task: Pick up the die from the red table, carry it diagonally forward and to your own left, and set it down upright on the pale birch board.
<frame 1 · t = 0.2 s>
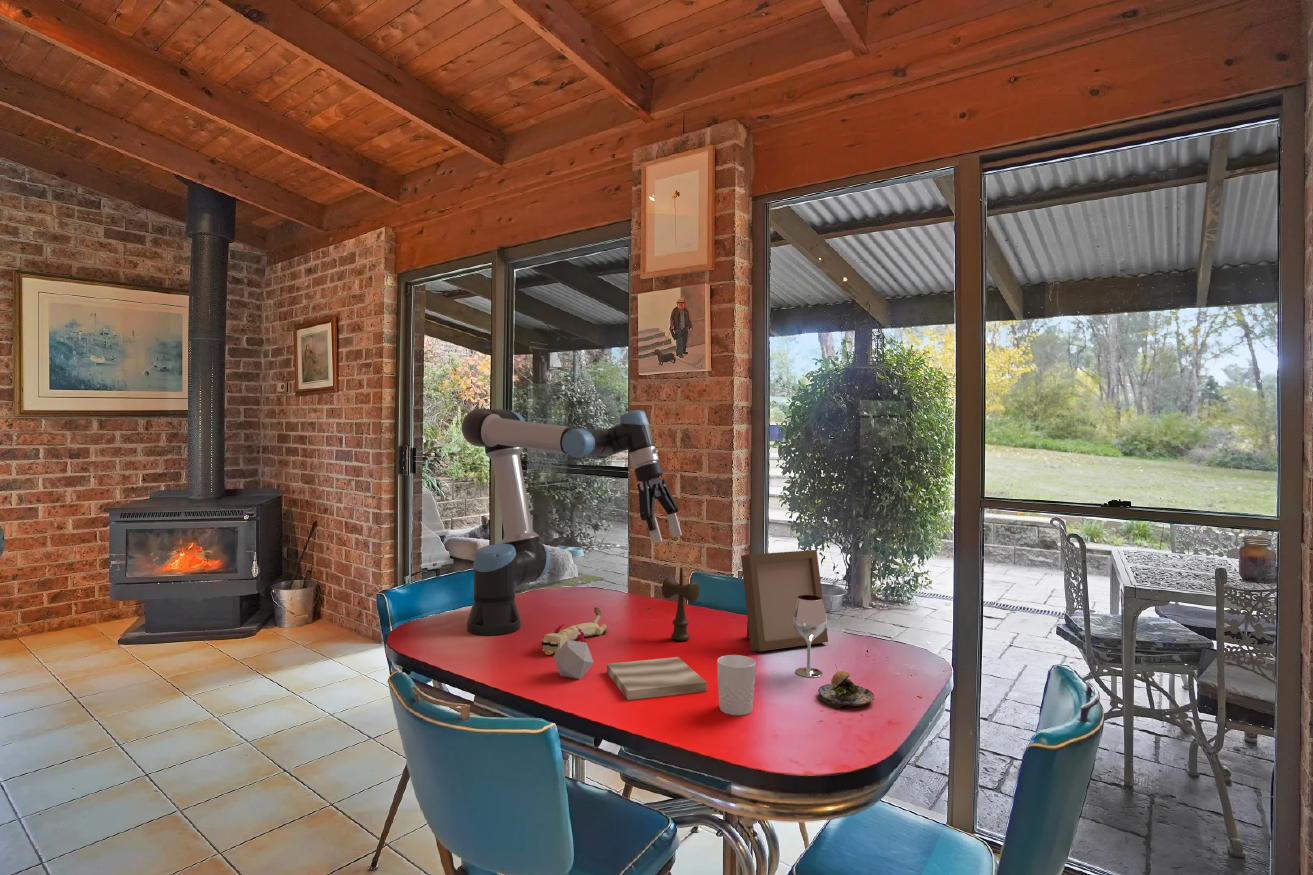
hand: (667, 539, 190), 28 cm above the table, tool tilted 20°, fingers open, 13 cm apart
wineglass: (808, 673, 165), on the table
kendama: (680, 639, 191), on the table
cat figure: (574, 645, 186), on the table
white cup: (735, 710, 143), on the table
photo frame: (778, 643, 190), on the table
die: (573, 676, 162), on the table
birch board: (654, 681, 158), on the table
burger: (845, 701, 149), on the table
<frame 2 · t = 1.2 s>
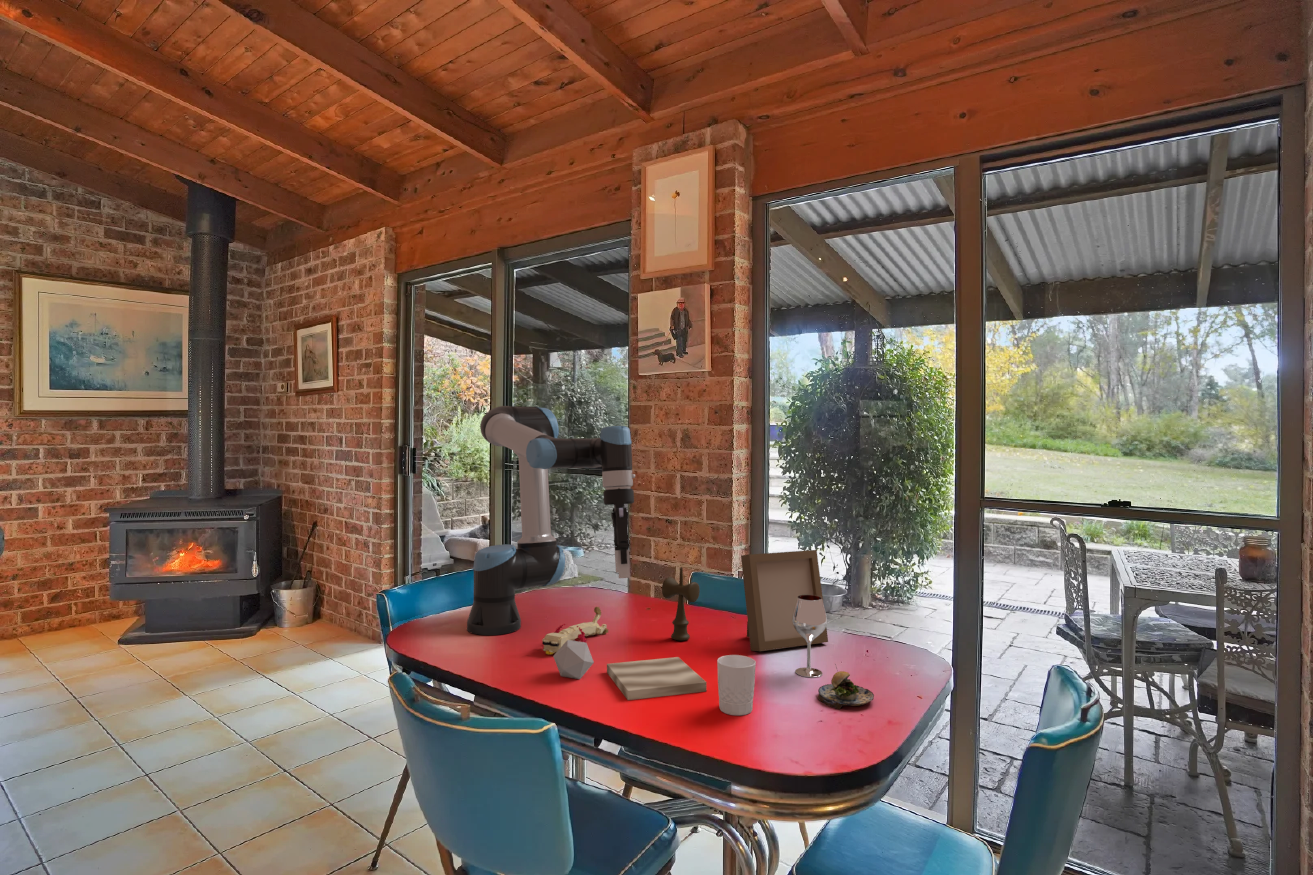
hand: (622, 575, 170), 22 cm above the table, tool pointing down, fingers open, 13 cm apart
nothing on the table moved.
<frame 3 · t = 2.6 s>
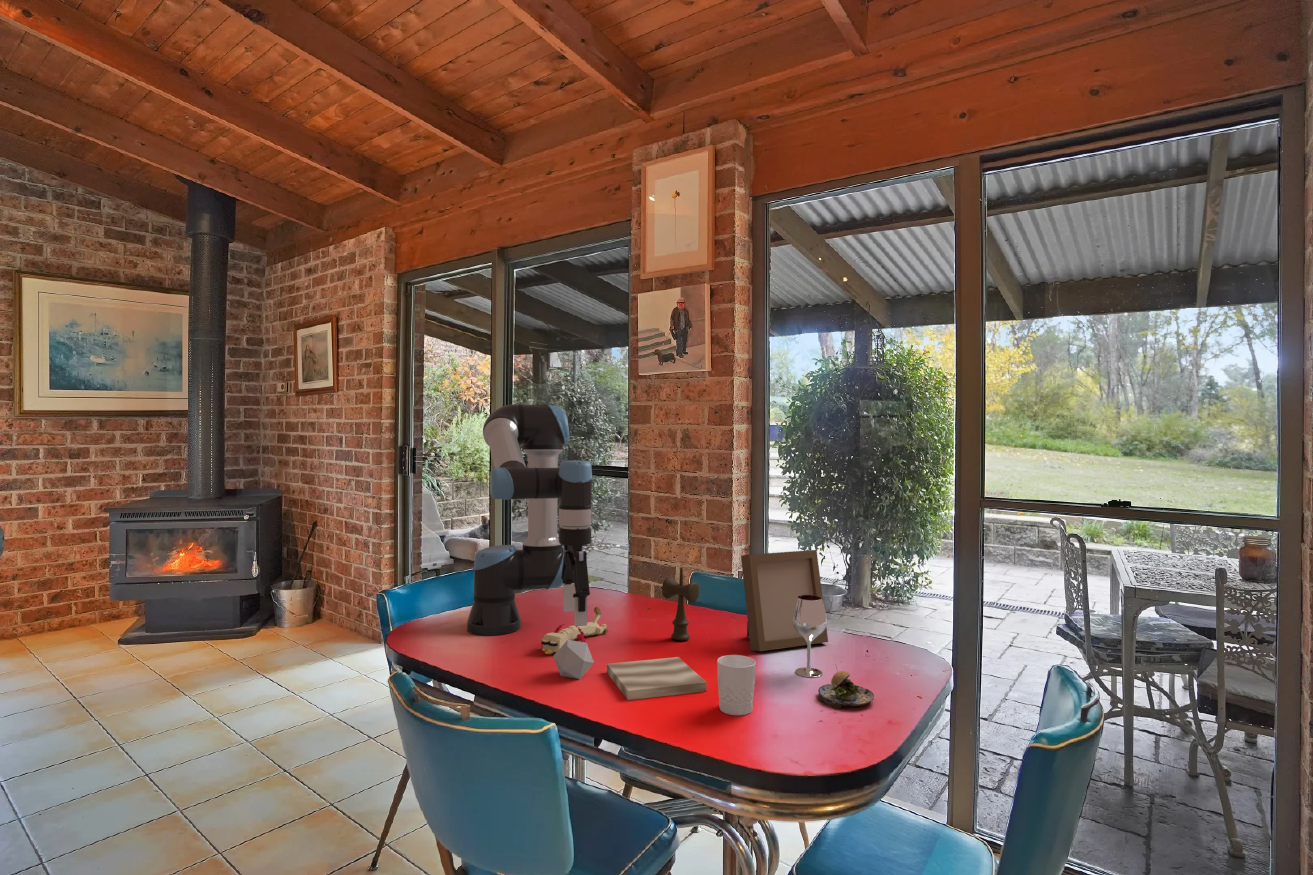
hand: (574, 618, 161), 13 cm above the table, tool pointing down, fingers open, 13 cm apart
nothing on the table moved.
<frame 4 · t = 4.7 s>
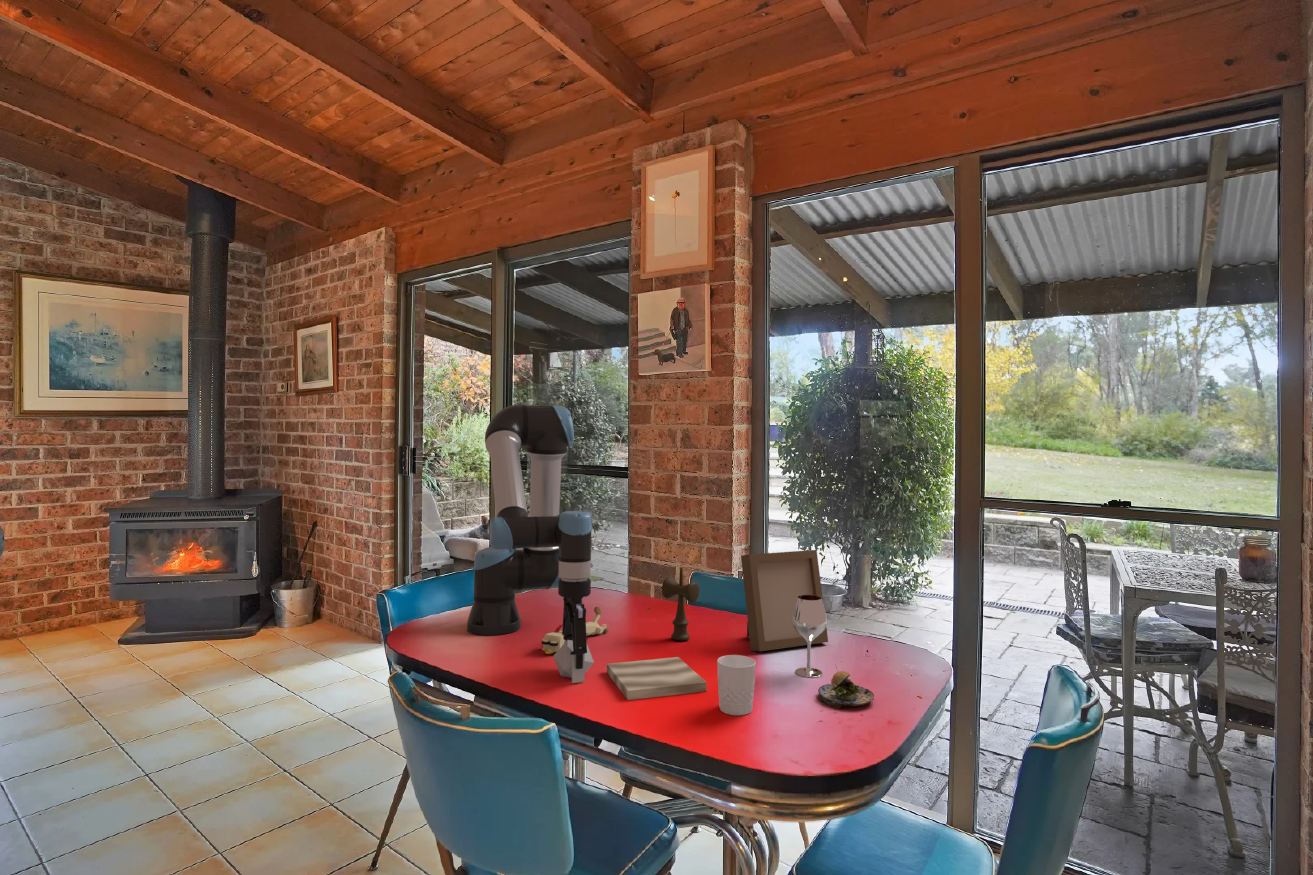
hand: (573, 674, 162), 0 cm above the table, tool pointing down, fingers closed on die, 9 cm apart
die: (573, 676, 162), on the table, touching gripper
everything else where it was.
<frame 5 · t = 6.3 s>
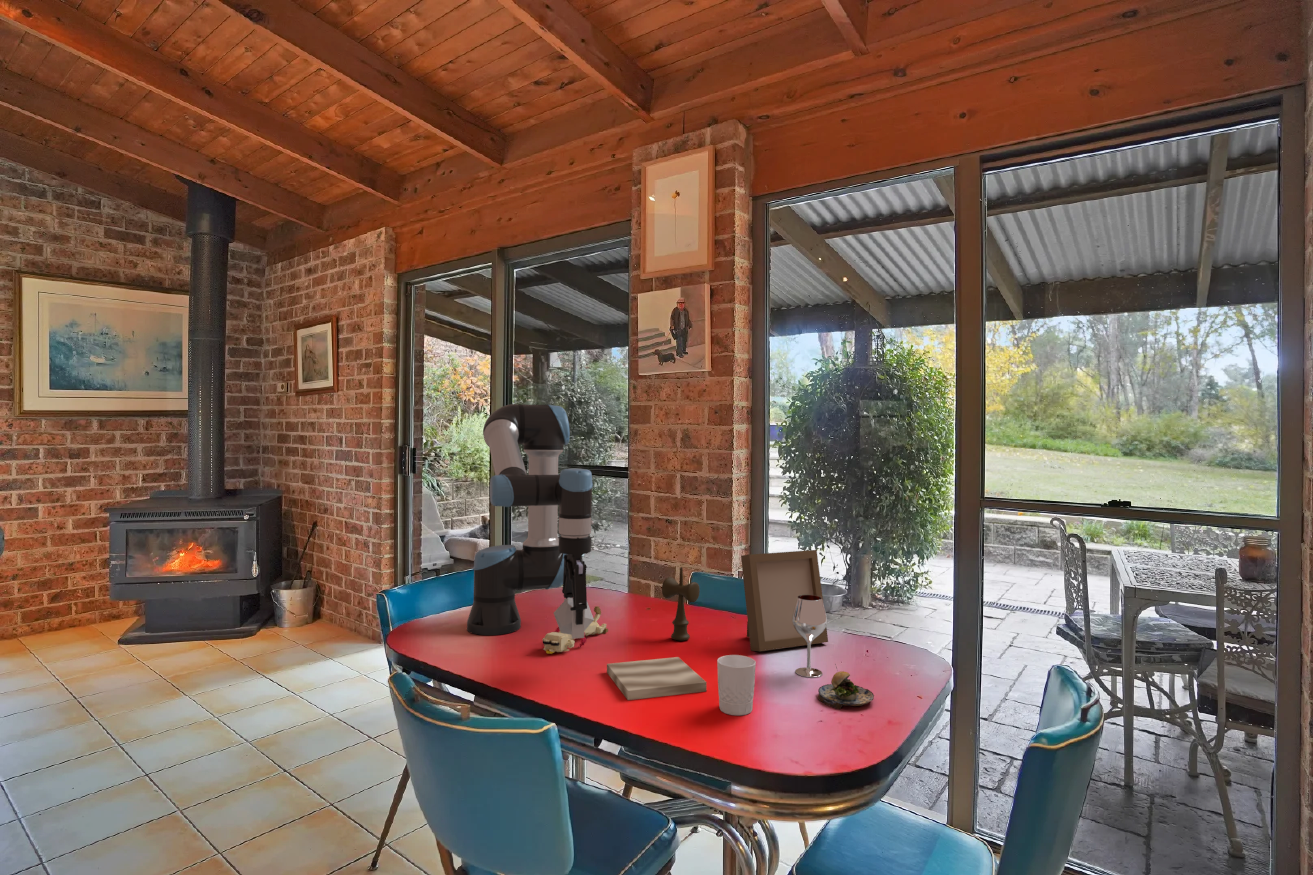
hand: (573, 631, 162), 10 cm above the table, tool pointing down, fingers closed on die, 9 cm apart
die: (573, 633, 162), point 10 cm above the table, touching gripper
everything else where it was.
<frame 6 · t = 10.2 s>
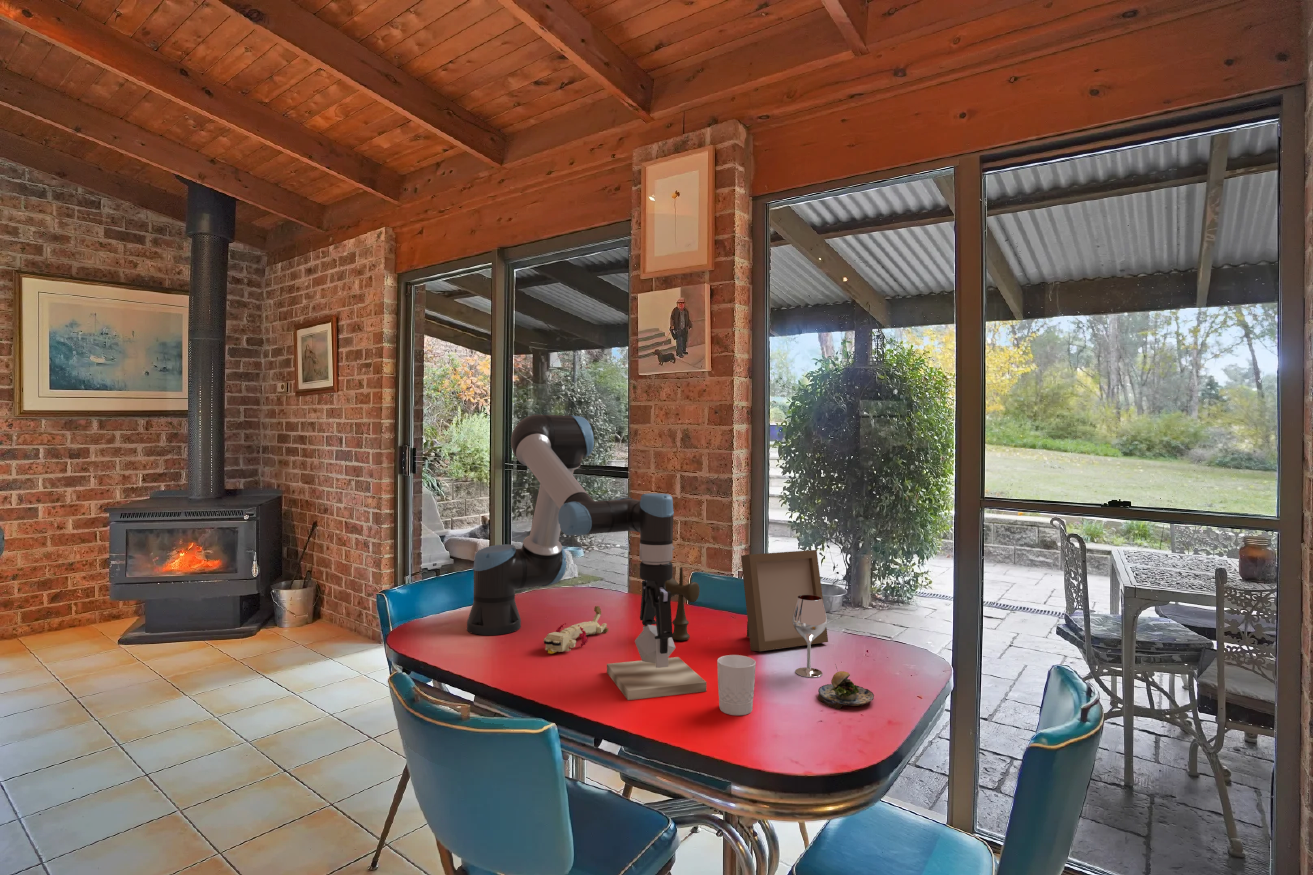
hand: (655, 659, 158), 5 cm above the table, tool pointing down, fingers closed on die, 9 cm apart
die: (654, 661, 158), point 4 cm above the table, touching gripper
everything else where it was.
when the fingers open (3 cm above the table, at t = 11.1 s): die drops 1 cm, resting on birch board.
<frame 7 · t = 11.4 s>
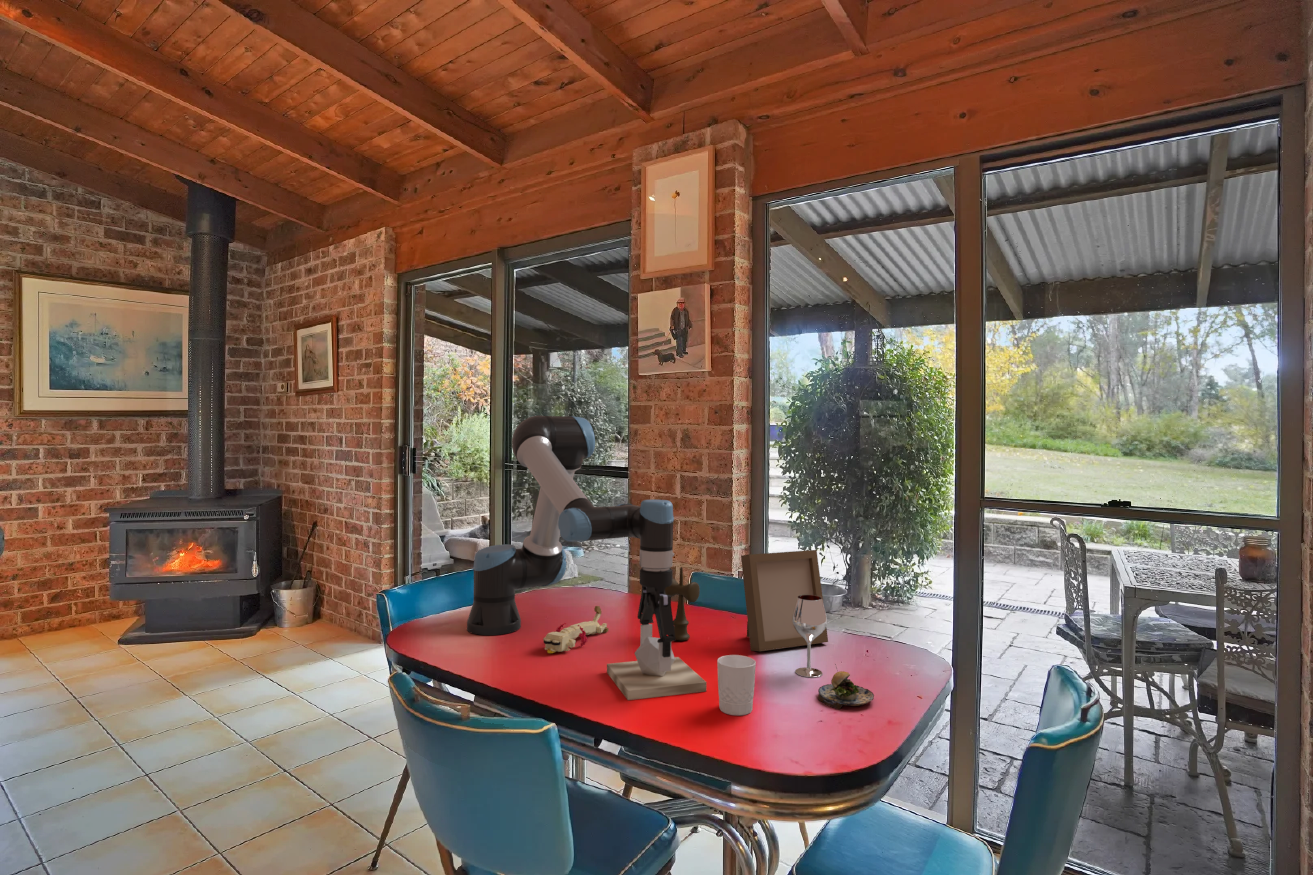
hand: (655, 661, 158), 5 cm above the table, tool pointing down, fingers open, 13 cm apart
die: (654, 673, 158), point 2 cm above the table, touching birch board
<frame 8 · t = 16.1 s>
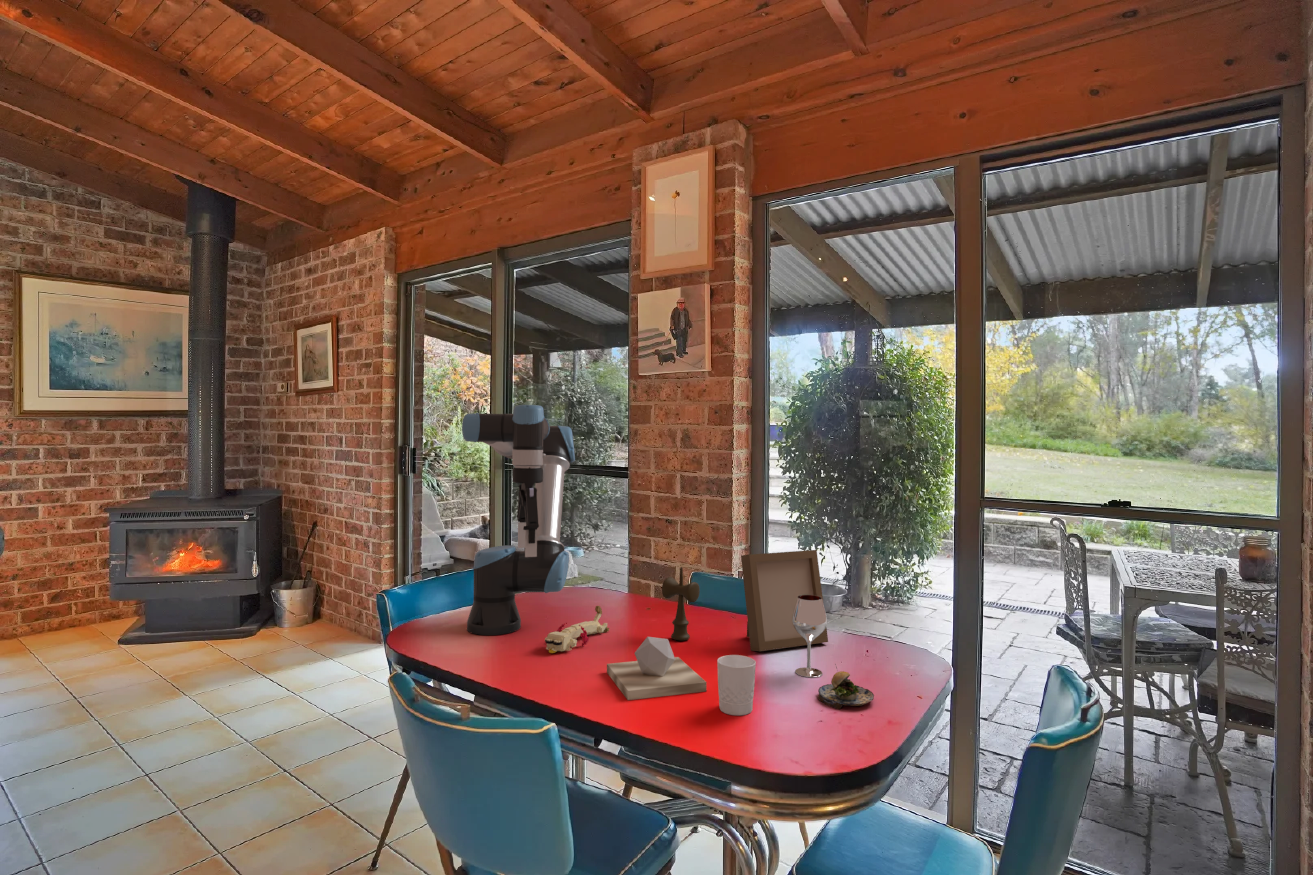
hand: (526, 552, 173), 27 cm above the table, tool pointing down, fingers open, 13 cm apart
at the end: die inside the target area on the birch board (0.2 cm from its centre), point 1.8 cm above the birch board's base; die tilted 1°; the gripper is holding nothing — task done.
